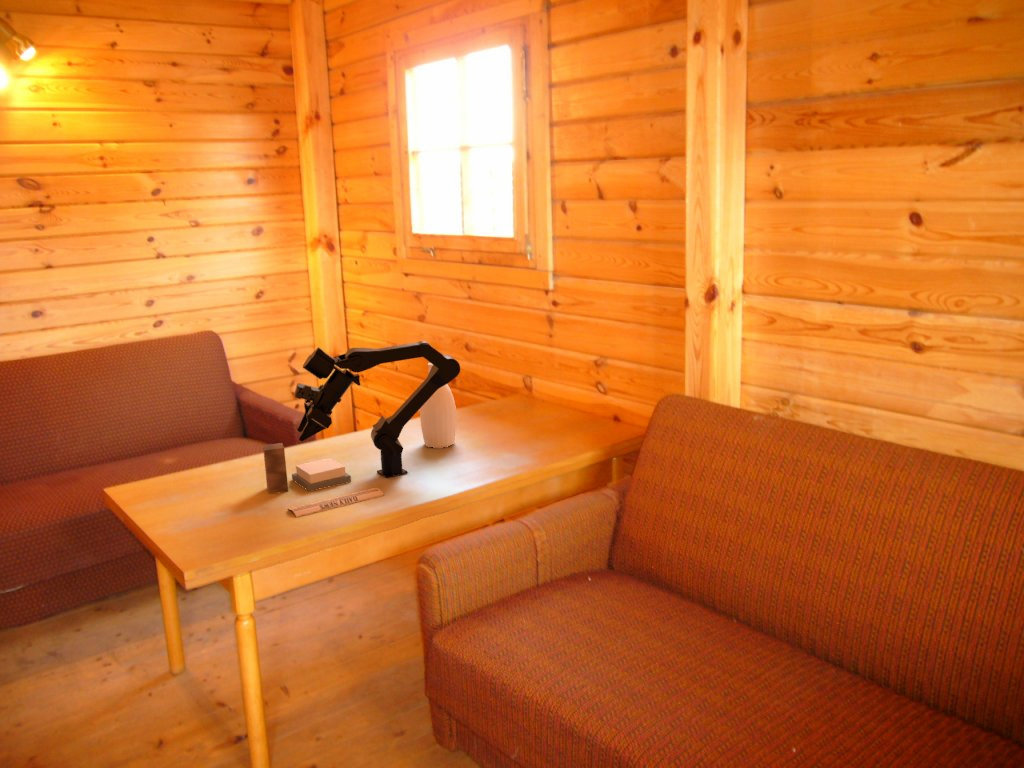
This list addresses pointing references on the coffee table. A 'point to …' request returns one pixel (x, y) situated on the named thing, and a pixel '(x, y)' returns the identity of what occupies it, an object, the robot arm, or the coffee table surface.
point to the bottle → (439, 418)
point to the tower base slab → (320, 484)
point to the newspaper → (336, 502)
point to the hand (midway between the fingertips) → (299, 435)
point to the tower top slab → (320, 470)
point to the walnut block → (275, 468)
